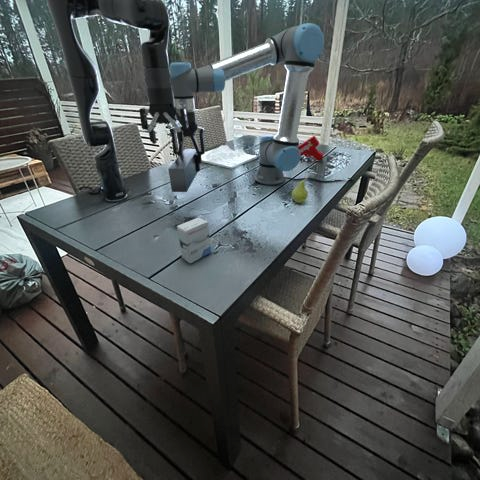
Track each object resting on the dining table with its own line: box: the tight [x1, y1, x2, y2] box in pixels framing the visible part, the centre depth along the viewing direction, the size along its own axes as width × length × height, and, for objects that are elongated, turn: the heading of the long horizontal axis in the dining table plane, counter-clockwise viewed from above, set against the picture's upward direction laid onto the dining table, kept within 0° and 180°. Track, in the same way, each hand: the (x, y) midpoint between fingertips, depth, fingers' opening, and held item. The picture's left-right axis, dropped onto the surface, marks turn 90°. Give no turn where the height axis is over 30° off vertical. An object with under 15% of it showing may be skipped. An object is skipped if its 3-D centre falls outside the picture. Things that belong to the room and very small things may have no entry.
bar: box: [167, 148, 199, 193], centre depth 106 cm, size 26×5×8 cm, turn 177°
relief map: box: [201, 144, 258, 170], centre depth 177 cm, size 27×35×5 cm
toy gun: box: [298, 135, 324, 163], centre depth 172 cm, size 18×4×15 cm
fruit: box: [291, 174, 311, 204], centre depth 118 cm, size 7×8×12 cm
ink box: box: [176, 216, 212, 264], centre depth 84 cm, size 8×5×12 cm, turn 135°
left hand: (167, 143), depth 88 cm, fingers open, 8 cm apart
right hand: (191, 170), depth 115 cm, fingers closed on bar, 5 cm apart
